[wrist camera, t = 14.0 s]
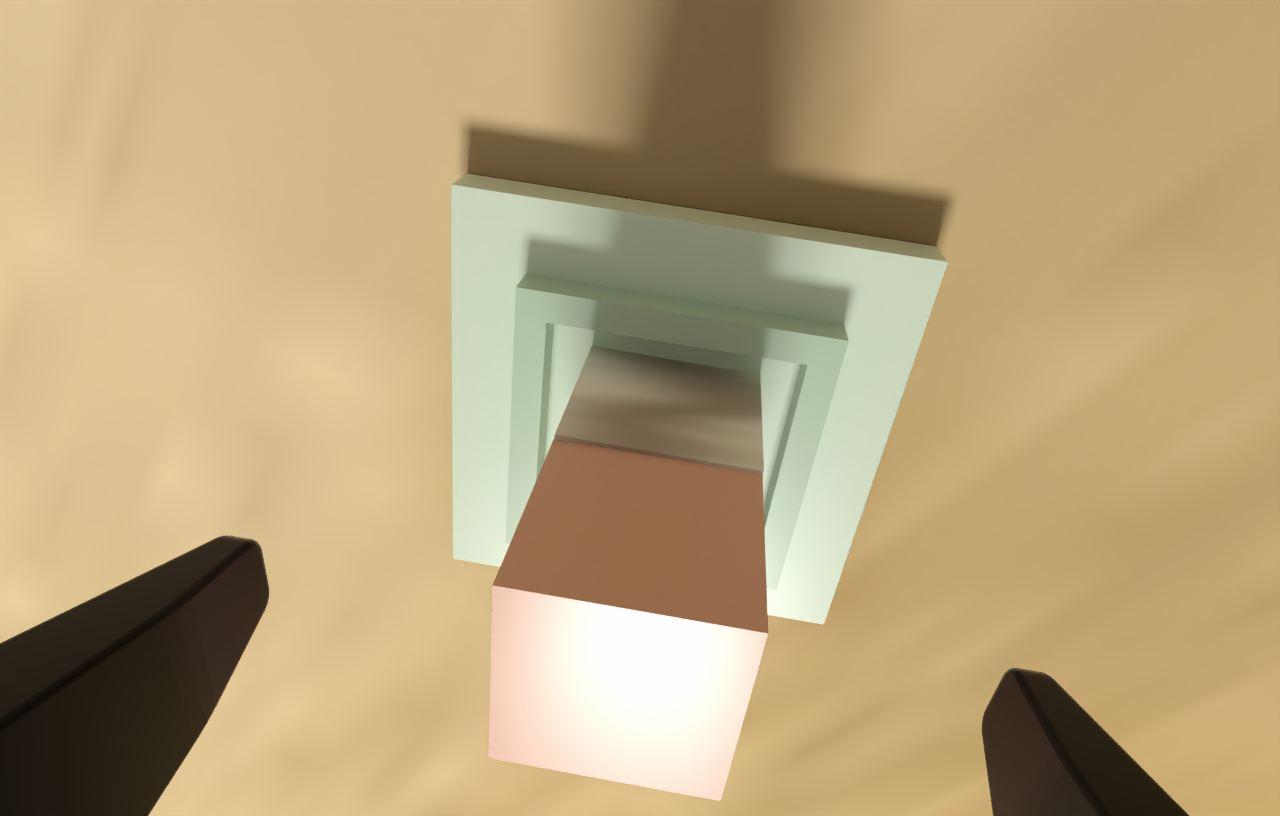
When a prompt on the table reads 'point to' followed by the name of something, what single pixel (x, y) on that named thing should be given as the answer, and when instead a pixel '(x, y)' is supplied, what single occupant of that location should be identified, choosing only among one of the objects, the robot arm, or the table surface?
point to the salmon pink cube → (630, 620)
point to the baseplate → (680, 351)
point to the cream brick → (666, 410)
